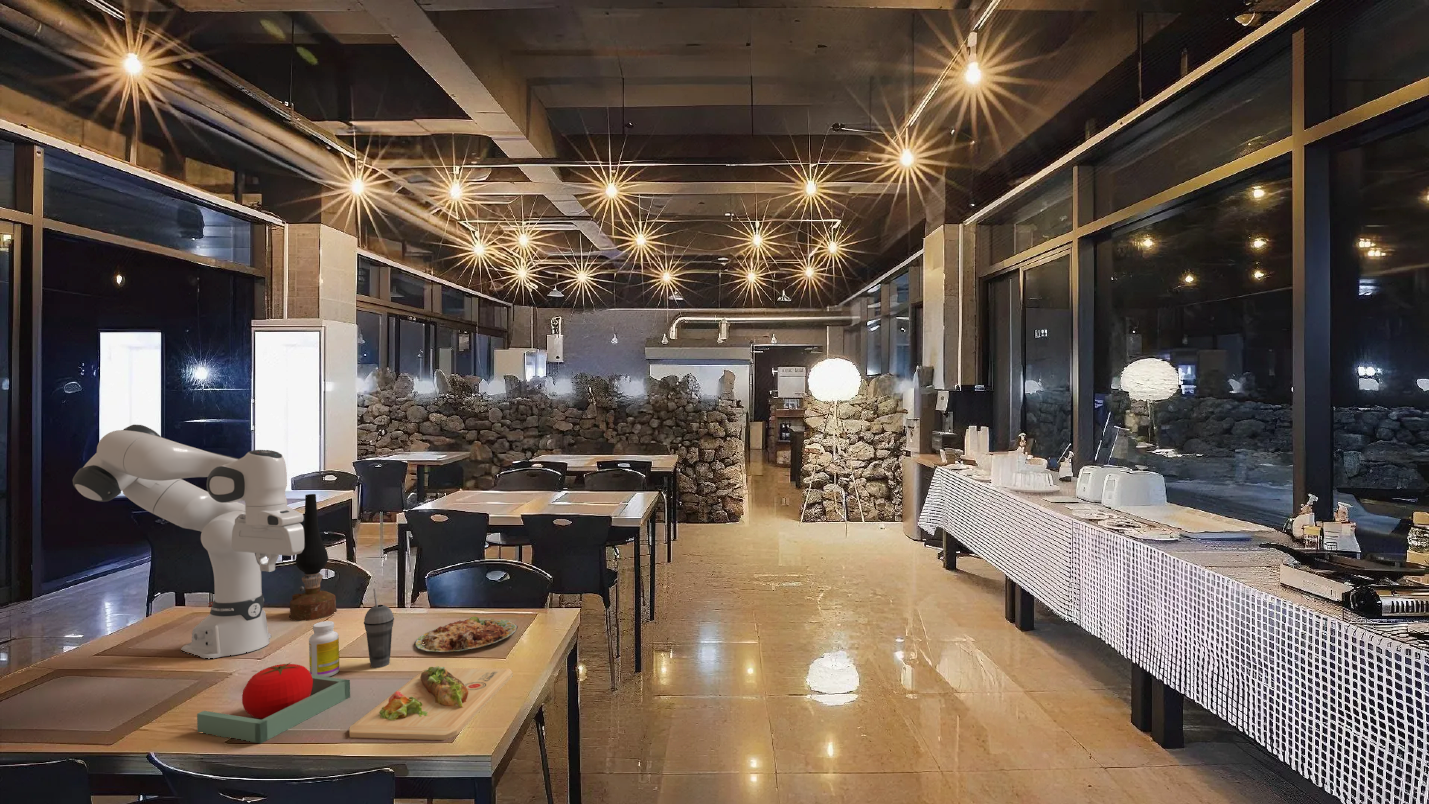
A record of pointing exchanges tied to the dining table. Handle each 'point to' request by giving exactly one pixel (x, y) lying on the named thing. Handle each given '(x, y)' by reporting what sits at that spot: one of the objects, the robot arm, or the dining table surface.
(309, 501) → the oil lamp
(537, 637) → the dining table surface
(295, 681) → the tomato
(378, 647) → the beverage cup
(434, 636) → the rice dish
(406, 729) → the cutting board
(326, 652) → the supplement bottle
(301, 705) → the corral
